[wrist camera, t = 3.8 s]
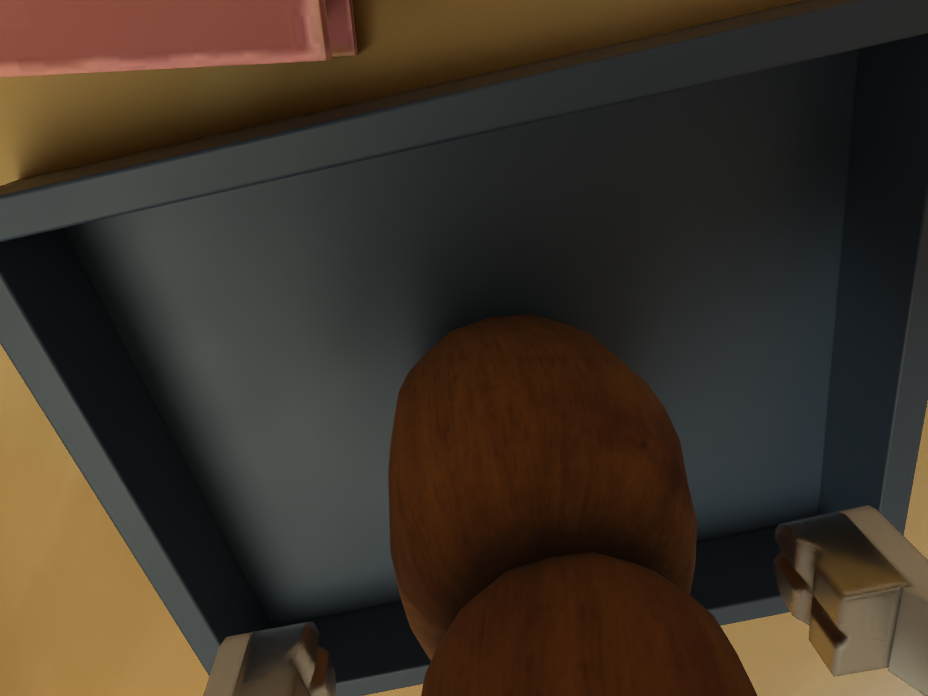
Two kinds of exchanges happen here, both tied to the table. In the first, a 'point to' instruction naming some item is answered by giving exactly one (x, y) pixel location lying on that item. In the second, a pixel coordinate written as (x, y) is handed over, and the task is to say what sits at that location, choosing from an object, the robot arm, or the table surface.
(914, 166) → the tray
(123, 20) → the book
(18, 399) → the table surface
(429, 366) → the wooden figurine
